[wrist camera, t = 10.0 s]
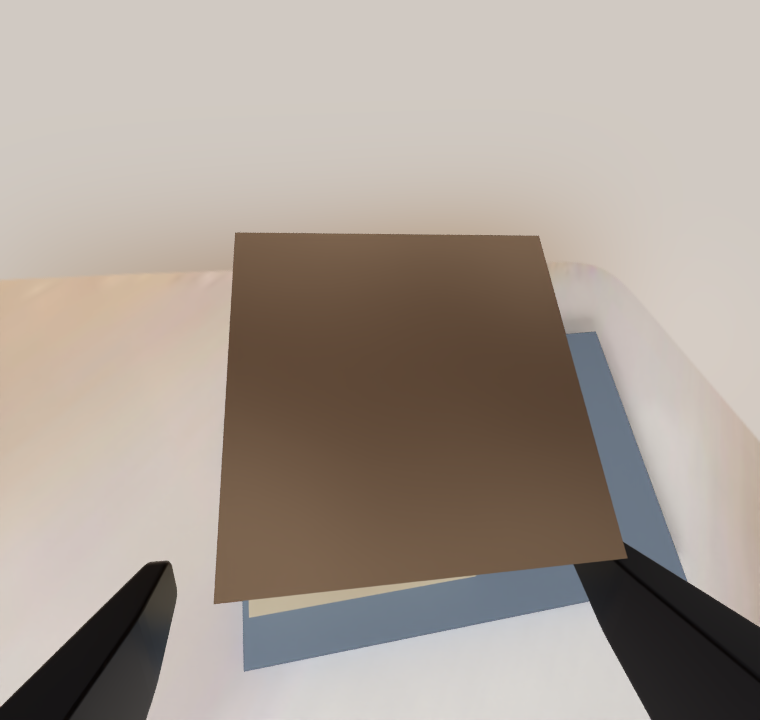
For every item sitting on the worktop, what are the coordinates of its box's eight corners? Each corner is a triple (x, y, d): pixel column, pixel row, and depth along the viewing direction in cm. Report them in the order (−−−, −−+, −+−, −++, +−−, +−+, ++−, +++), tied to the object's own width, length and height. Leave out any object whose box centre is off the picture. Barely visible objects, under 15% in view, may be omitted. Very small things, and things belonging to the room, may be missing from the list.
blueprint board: (585, 338, 25) (612, 319, 22) (670, 578, 20) (715, 585, 18) (241, 369, 22) (231, 350, 19) (248, 663, 17) (236, 685, 15)
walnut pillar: (418, 537, 17) (627, 558, 5) (296, 548, 16) (214, 604, 4) (405, 419, 19) (539, 235, 7) (295, 425, 18) (235, 232, 6)
